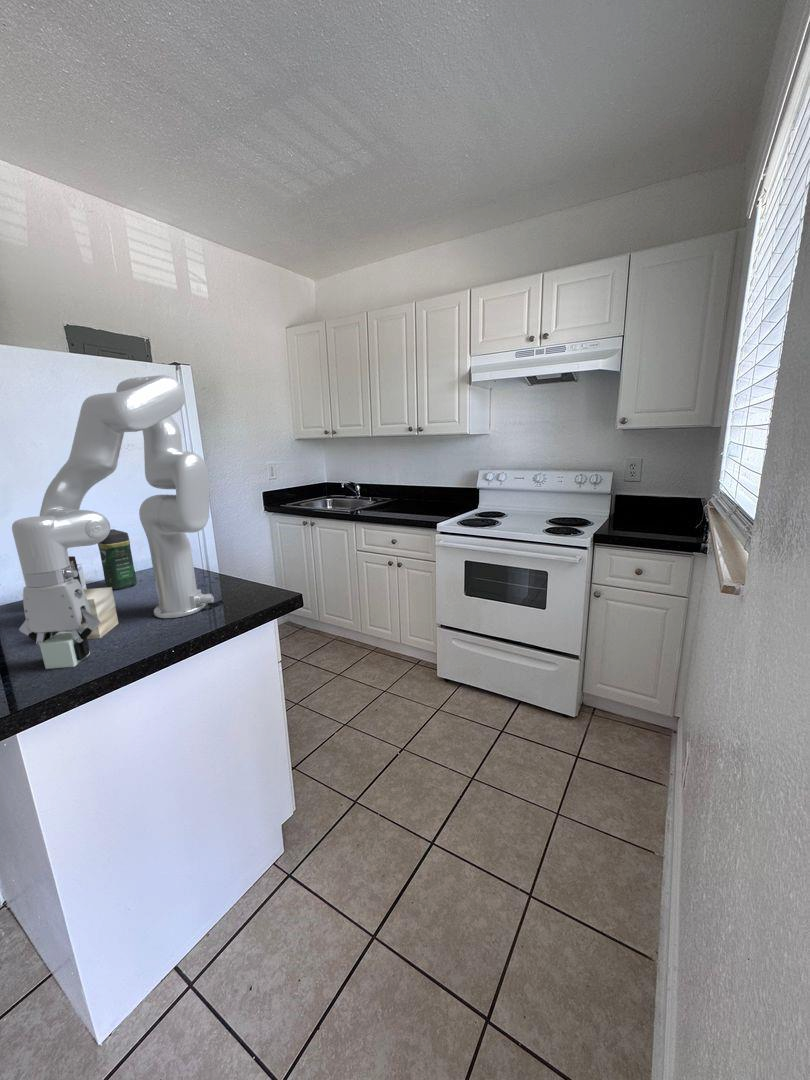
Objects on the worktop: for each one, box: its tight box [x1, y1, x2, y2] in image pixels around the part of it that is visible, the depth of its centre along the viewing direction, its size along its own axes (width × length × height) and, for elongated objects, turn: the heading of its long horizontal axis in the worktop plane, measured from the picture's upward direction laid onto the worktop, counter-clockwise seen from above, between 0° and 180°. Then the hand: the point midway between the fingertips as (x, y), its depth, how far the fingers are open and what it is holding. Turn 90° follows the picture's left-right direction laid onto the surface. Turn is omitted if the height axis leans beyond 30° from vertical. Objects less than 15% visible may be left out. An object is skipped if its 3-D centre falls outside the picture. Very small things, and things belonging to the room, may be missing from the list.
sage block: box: [39, 632, 91, 670], centre depth 91 cm, size 6×6×6 cm
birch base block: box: [58, 606, 119, 640], centre depth 105 cm, size 8×8×5 cm
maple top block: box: [83, 586, 116, 619], centre depth 104 cm, size 8×8×5 cm
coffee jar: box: [97, 528, 138, 590], centre depth 138 cm, size 10×8×19 cm
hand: (67, 657), depth 91 cm, fingers closed on sage block, 5 cm apart
